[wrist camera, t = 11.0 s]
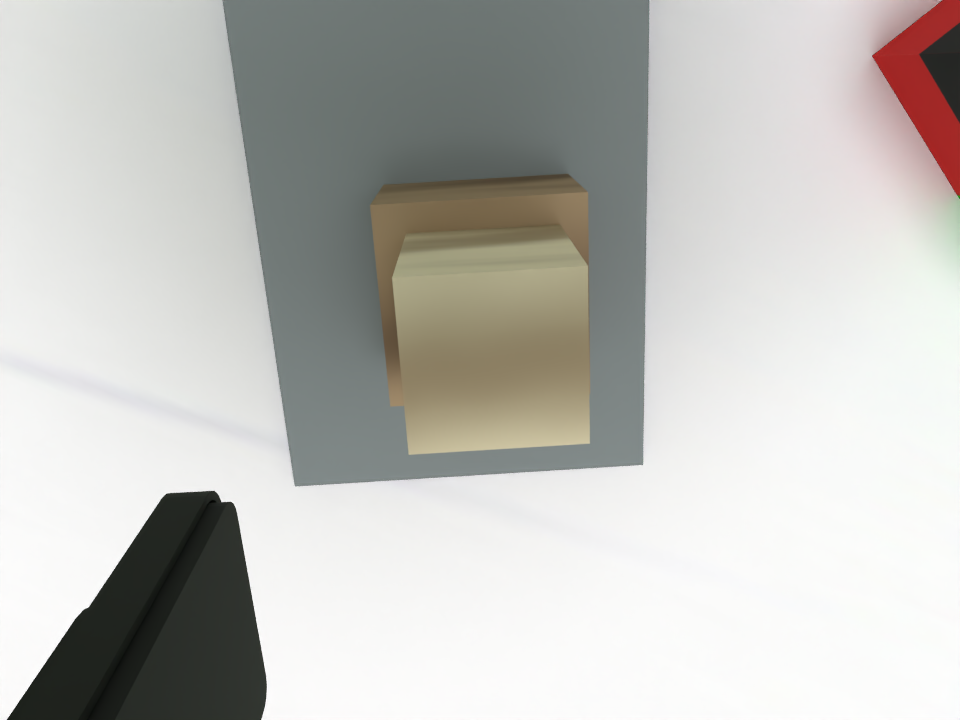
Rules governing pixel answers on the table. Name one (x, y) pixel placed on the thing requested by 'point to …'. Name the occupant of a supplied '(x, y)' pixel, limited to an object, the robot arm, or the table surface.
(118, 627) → the robot arm
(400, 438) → the mat
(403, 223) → the walnut block
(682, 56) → the table surface
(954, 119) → the puzzle toy
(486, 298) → the maple block
